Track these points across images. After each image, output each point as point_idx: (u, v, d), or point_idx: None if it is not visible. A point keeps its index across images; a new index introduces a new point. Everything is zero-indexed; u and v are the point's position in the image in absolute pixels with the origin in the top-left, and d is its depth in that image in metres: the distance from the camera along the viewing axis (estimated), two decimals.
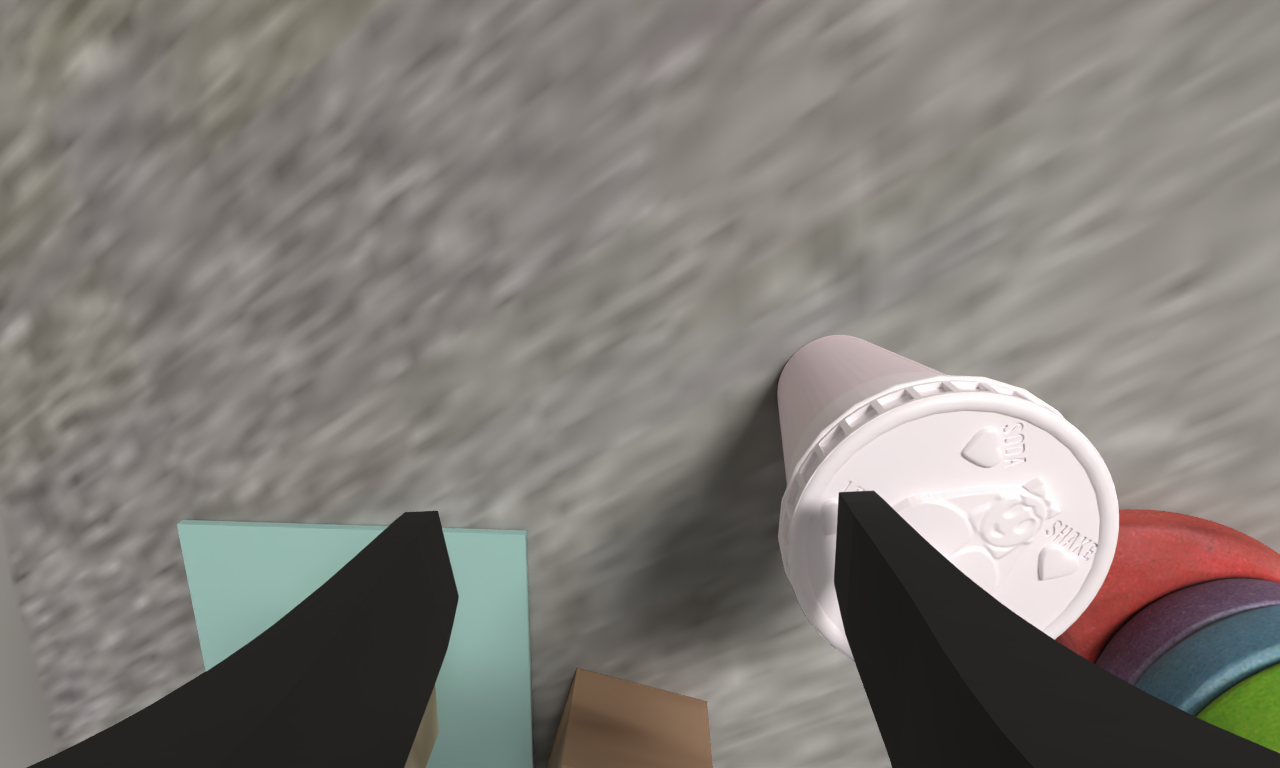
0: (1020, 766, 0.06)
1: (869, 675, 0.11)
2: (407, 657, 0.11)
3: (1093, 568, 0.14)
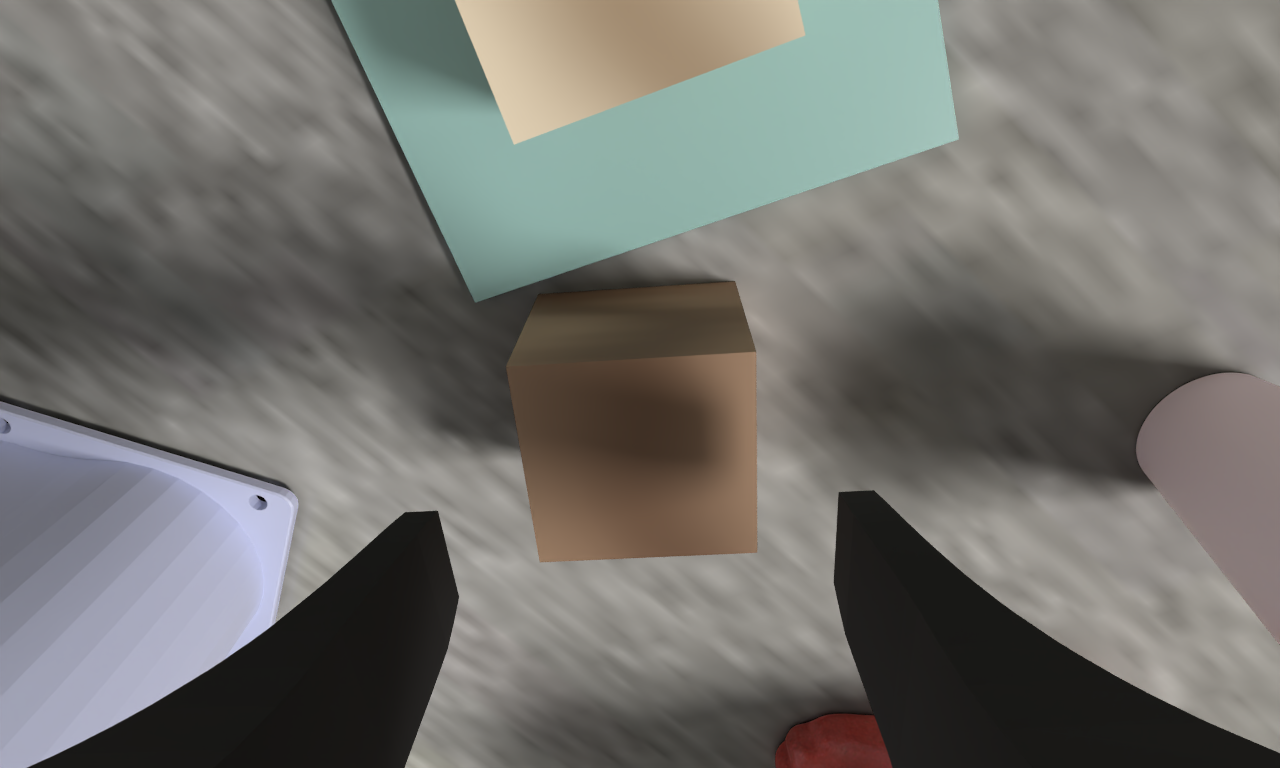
0: (1020, 766, 0.06)
1: (868, 675, 0.11)
2: (407, 657, 0.11)
3: None
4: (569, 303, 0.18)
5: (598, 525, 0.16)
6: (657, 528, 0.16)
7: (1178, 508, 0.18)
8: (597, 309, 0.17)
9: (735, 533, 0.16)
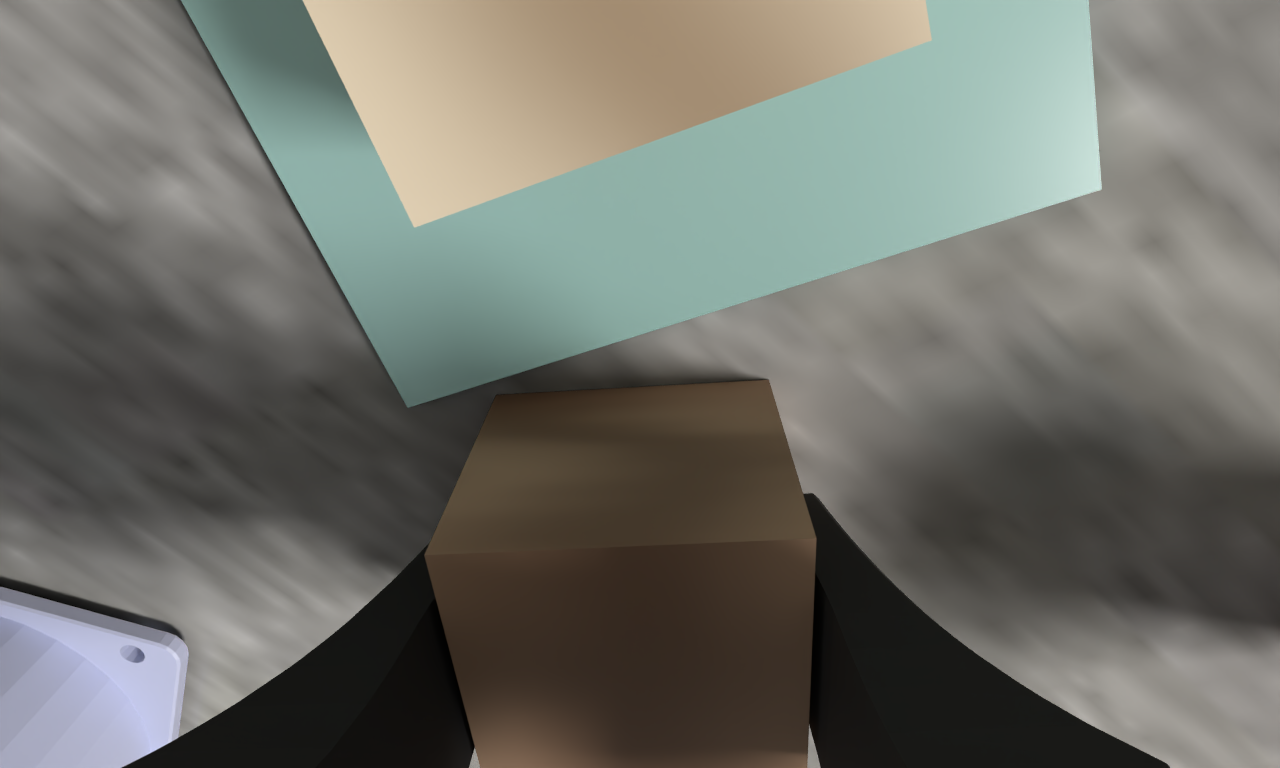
0: None
1: None
2: None
3: None
4: (535, 418, 0.12)
5: (573, 759, 0.11)
6: (660, 764, 0.11)
7: None
8: (574, 431, 0.12)
9: None
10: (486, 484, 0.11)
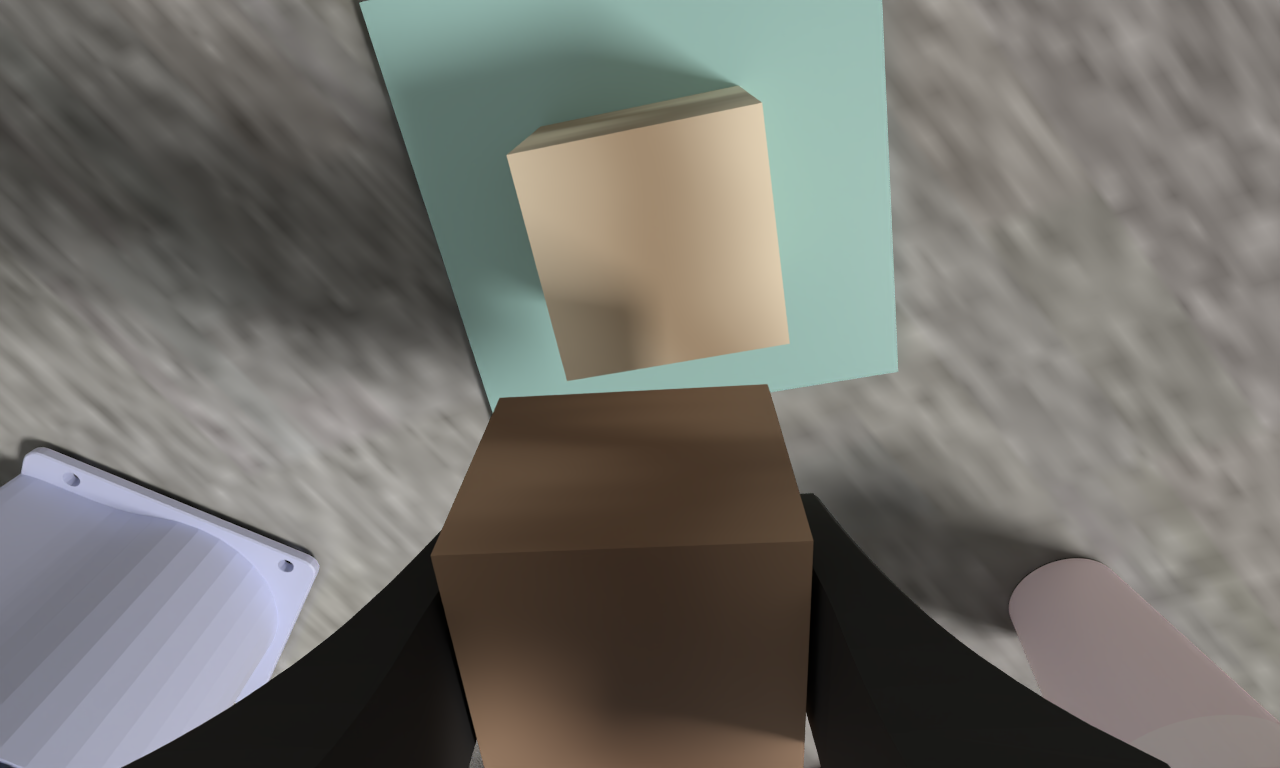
0: None
1: None
2: None
3: None
4: (538, 420, 0.13)
5: (574, 756, 0.11)
6: (659, 761, 0.11)
7: (1030, 663, 0.23)
8: (576, 434, 0.12)
9: None
10: (490, 486, 0.11)
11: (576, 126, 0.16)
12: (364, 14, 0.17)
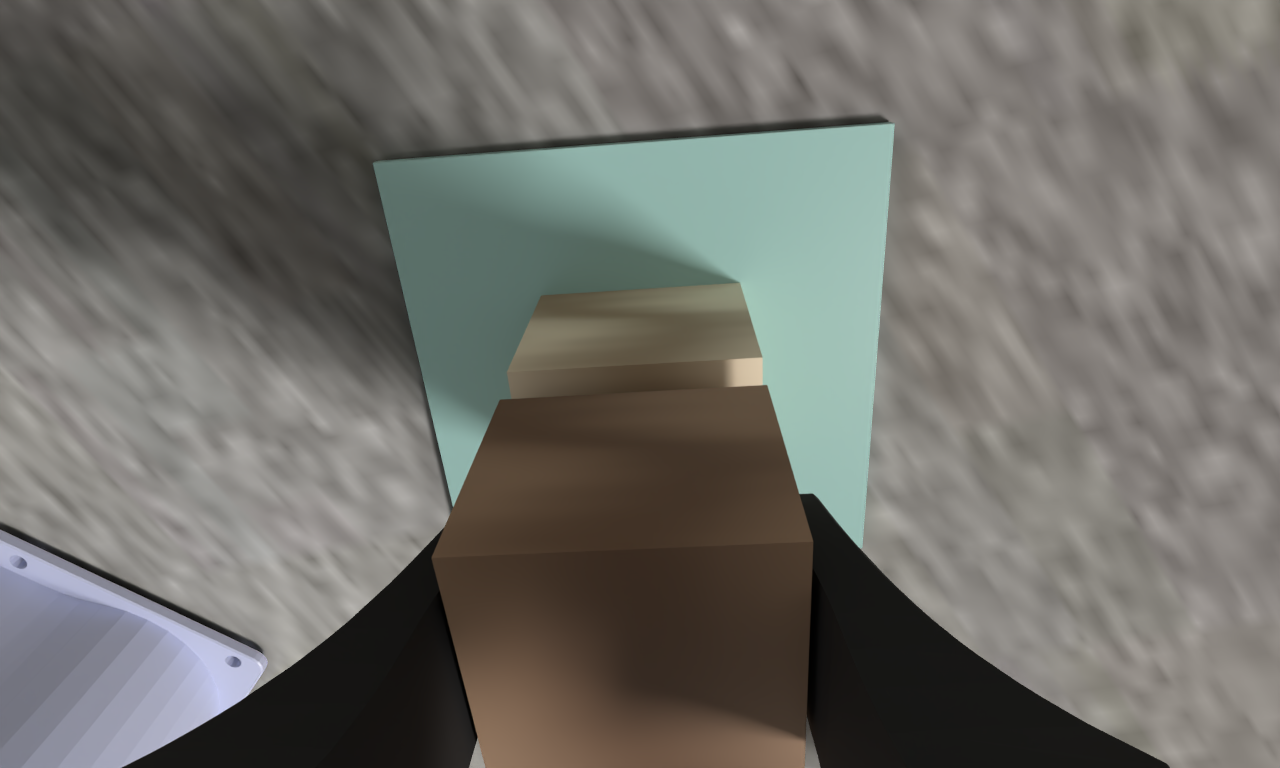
0: None
1: None
2: None
3: None
4: (538, 422, 0.13)
5: (576, 757, 0.11)
6: (660, 762, 0.11)
7: None
8: (576, 436, 0.12)
9: None
10: (491, 488, 0.11)
11: (577, 318, 0.17)
12: (376, 173, 0.17)
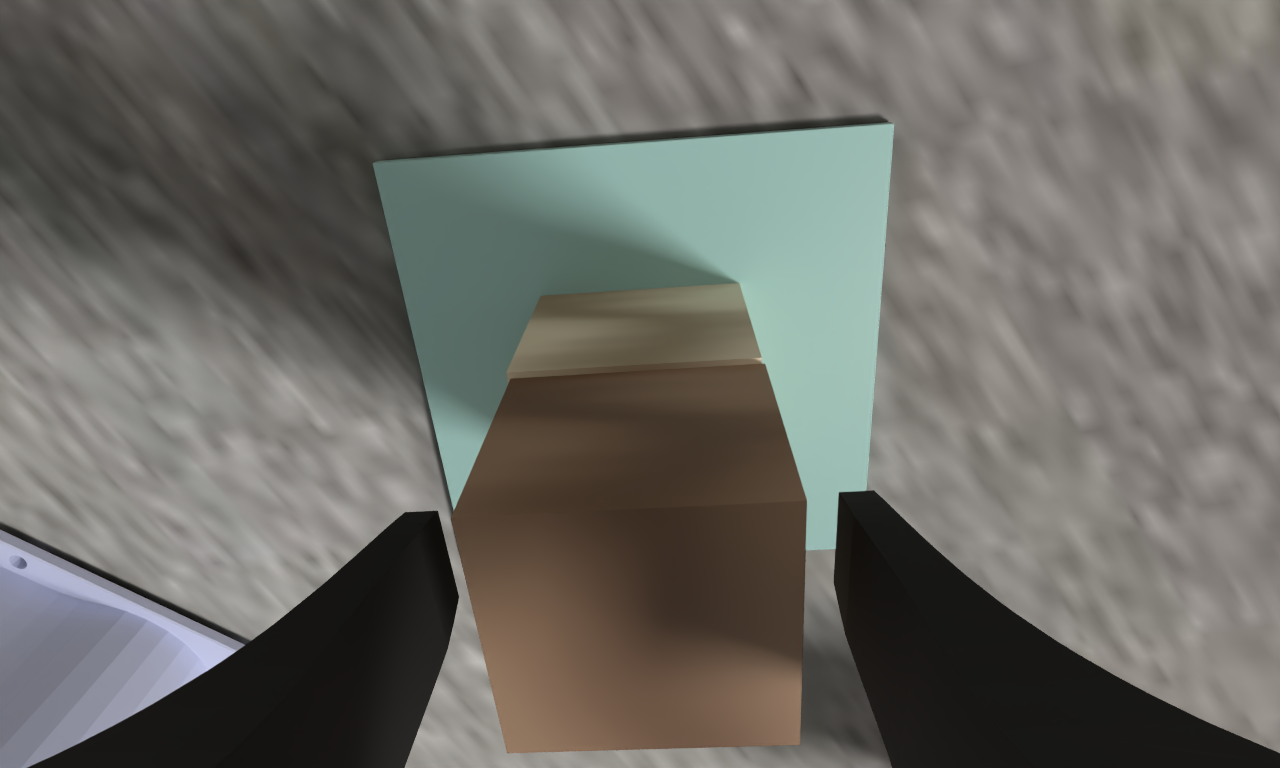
0: (1020, 766, 0.06)
1: (868, 674, 0.11)
2: (407, 657, 0.11)
3: None
4: (548, 398, 0.13)
5: (585, 711, 0.12)
6: (664, 715, 0.12)
7: None
8: (584, 410, 0.13)
9: (771, 722, 0.12)
10: (505, 457, 0.12)
11: (577, 318, 0.17)
12: (376, 174, 0.17)
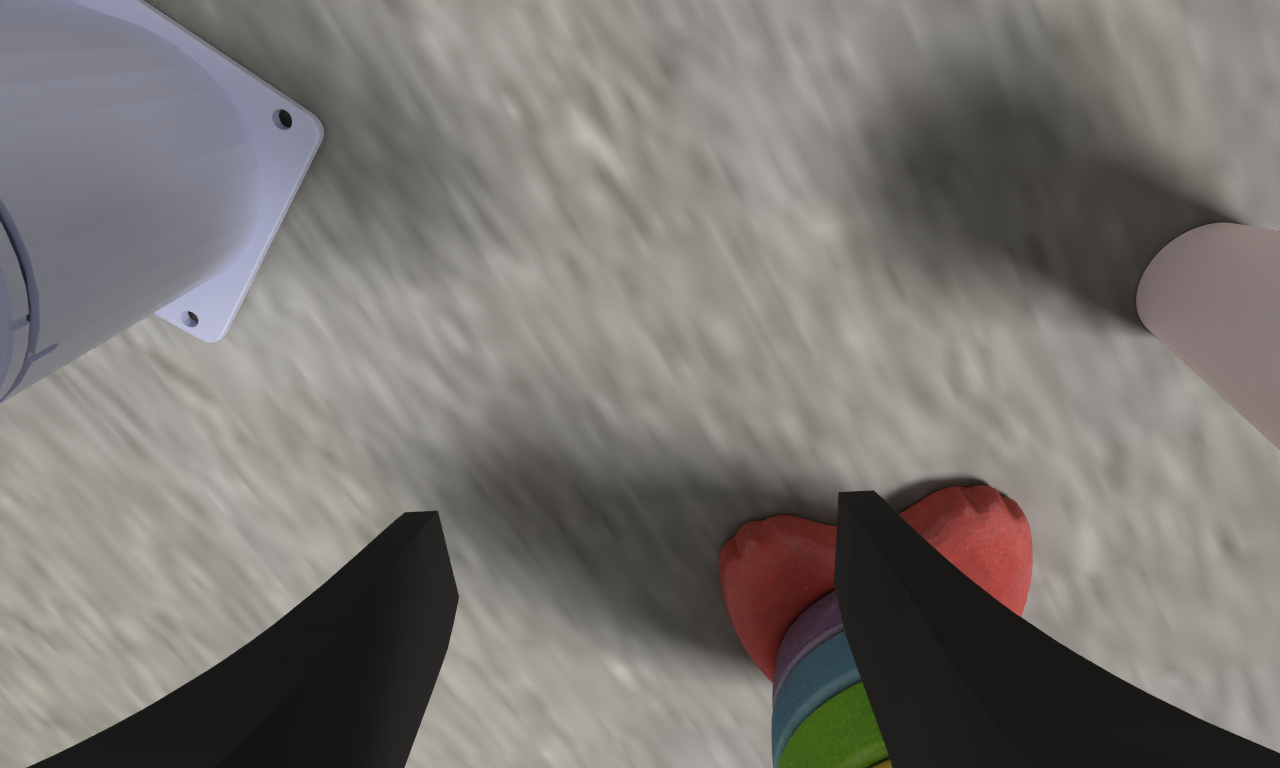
0: (1020, 766, 0.06)
1: (868, 674, 0.11)
2: (407, 657, 0.11)
3: None
4: None
5: None
6: None
7: (1175, 324, 0.20)
8: None
9: None
10: None
11: None
12: None
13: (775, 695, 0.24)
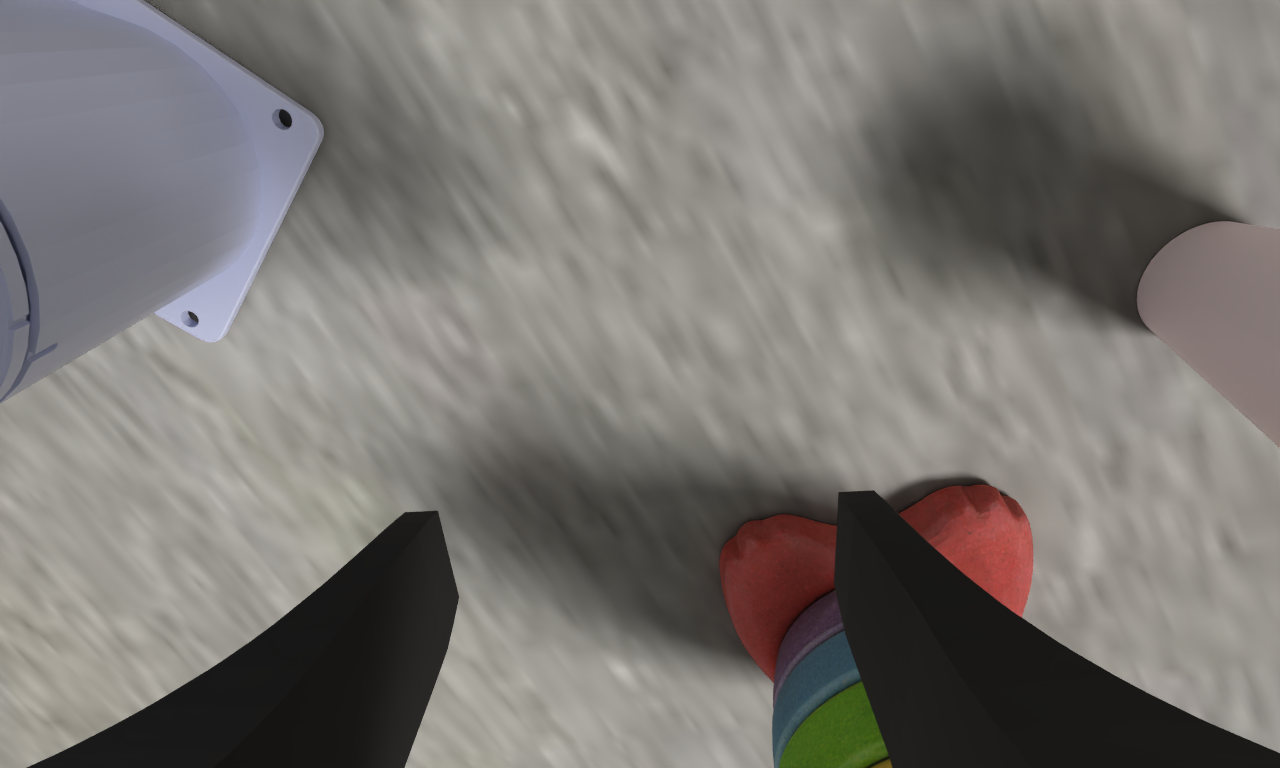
0: (1020, 766, 0.06)
1: (869, 674, 0.11)
2: (407, 657, 0.11)
3: None
4: None
5: None
6: None
7: (1176, 322, 0.20)
8: None
9: None
10: None
11: None
12: None
13: (776, 694, 0.24)
